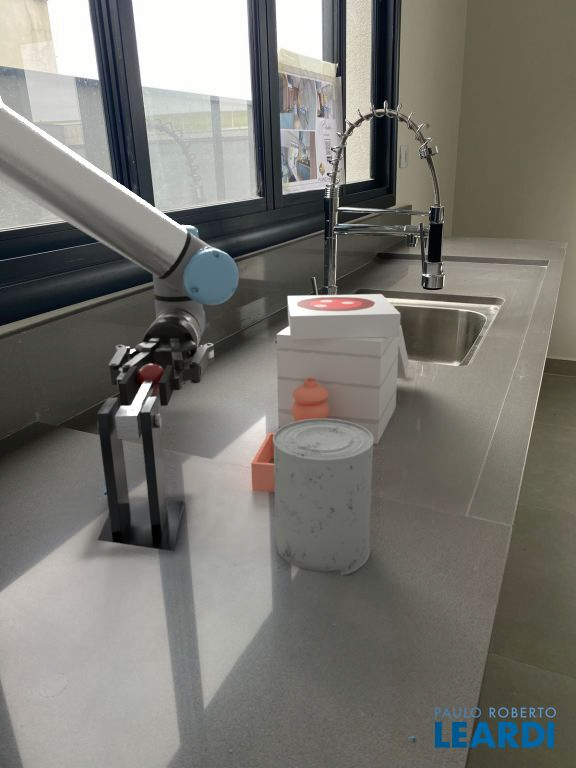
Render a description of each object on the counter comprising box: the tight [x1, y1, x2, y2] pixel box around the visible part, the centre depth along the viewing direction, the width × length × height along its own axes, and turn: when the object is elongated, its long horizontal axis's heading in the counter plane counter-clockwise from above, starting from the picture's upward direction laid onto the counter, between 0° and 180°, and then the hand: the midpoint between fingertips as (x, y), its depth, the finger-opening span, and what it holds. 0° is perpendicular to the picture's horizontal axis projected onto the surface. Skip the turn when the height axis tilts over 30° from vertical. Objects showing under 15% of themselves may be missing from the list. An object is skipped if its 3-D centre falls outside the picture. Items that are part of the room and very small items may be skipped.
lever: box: [115, 364, 165, 440], centre depth 66 cm, size 16×4×4 cm, turn 3°
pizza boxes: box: [276, 293, 410, 445], centre depth 96 cm, size 19×30×18 cm, turn 161°
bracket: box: [96, 396, 186, 552], centre depth 61 cm, size 10×8×15 cm
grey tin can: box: [273, 419, 374, 577], centre depth 59 cm, size 10×10×12 cm
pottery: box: [250, 378, 330, 493], centre depth 77 cm, size 18×10×10 cm, turn 169°
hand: (143, 394), depth 66 cm, fingers closed on lever, 4 cm apart
